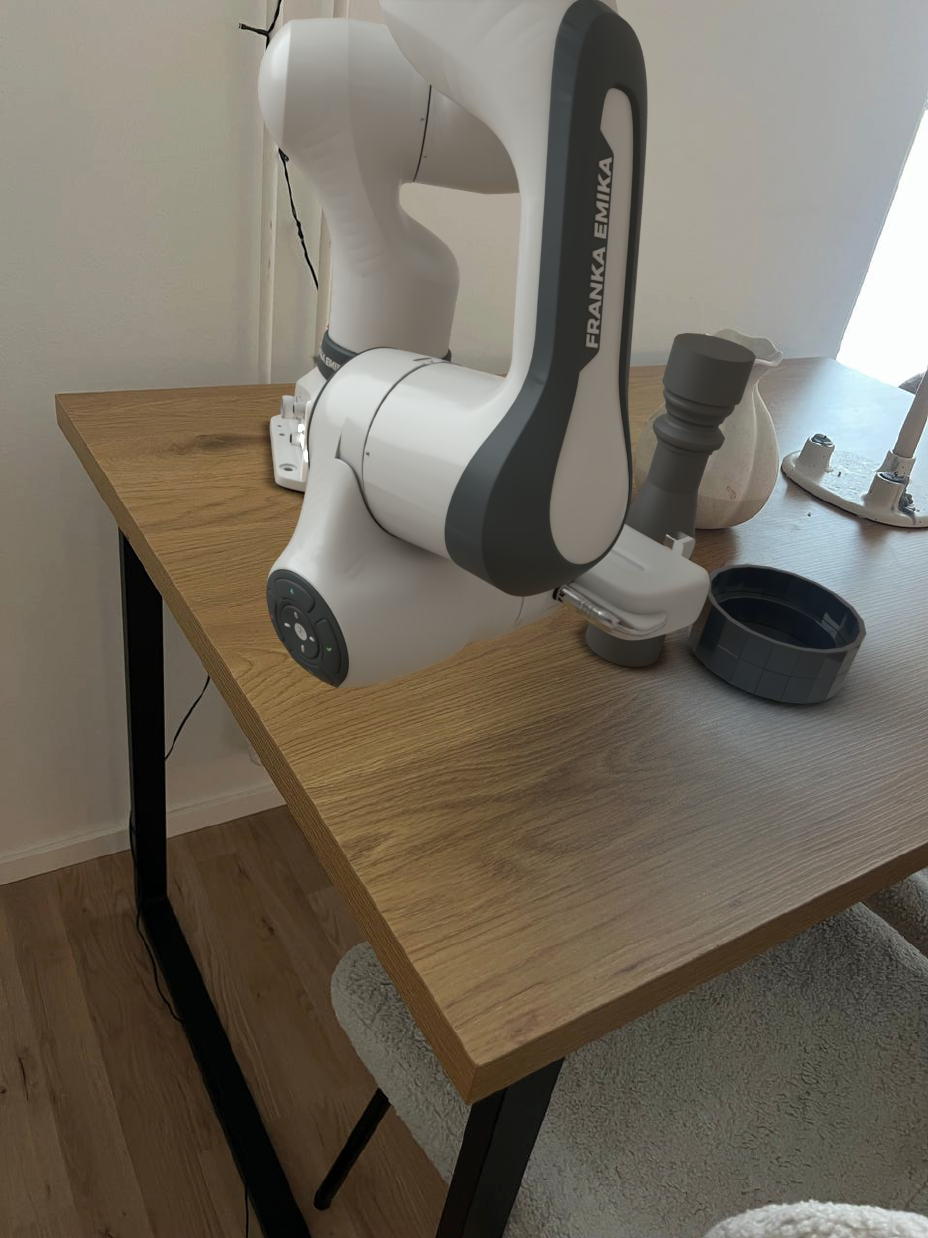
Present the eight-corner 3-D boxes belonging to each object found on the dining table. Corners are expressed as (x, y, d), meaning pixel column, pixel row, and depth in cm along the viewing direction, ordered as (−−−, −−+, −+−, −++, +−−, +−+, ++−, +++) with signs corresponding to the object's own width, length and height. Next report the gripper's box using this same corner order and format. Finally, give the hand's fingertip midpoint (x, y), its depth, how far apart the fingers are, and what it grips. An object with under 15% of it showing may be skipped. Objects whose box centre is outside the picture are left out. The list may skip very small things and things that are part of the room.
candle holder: (671, 646, 83) (772, 353, 70) (639, 677, 79) (740, 369, 66) (606, 615, 86) (691, 326, 73) (571, 642, 81) (656, 339, 68)
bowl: (657, 623, 86) (675, 568, 83) (775, 612, 92) (796, 560, 89) (746, 718, 77) (770, 659, 74) (873, 700, 82) (900, 644, 79)
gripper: (645, 596, 56) (769, 541, 66) (404, 451, 67) (539, 421, 76) (616, 686, 60) (738, 621, 69) (392, 533, 71) (522, 495, 80)
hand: (632, 515), depth 73 cm, fingers open, 8 cm apart
